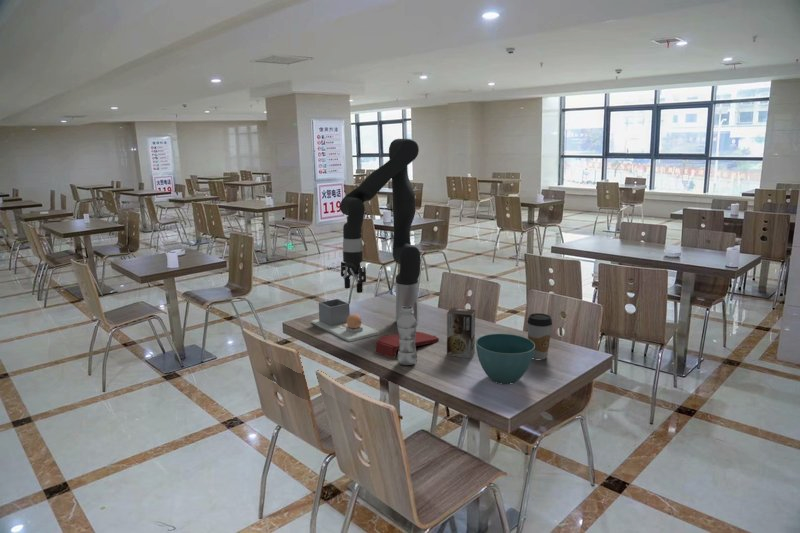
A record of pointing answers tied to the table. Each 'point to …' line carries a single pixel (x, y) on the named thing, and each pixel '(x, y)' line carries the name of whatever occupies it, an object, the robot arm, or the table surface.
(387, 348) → the carton
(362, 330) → the ball rack
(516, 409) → the table surface
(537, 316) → the coffee cup
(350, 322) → the ball
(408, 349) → the plastic bottle
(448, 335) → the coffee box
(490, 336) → the teal bowl
